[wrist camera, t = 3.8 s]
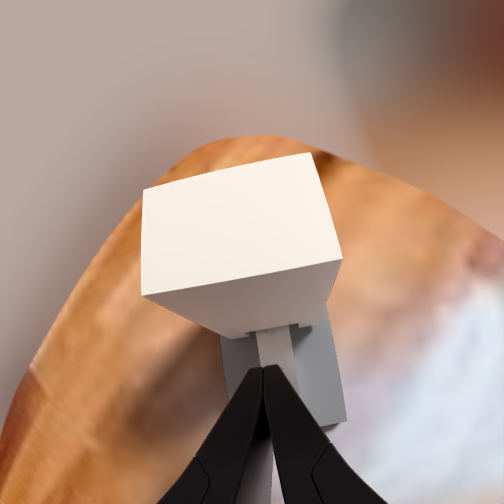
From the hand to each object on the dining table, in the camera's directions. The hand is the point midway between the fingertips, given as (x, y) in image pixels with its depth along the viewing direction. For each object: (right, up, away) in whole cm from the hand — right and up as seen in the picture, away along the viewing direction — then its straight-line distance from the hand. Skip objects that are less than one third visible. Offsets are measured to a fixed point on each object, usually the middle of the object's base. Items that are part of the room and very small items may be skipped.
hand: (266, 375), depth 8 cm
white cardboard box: (+1, +1, +8) cm, 8 cm away
